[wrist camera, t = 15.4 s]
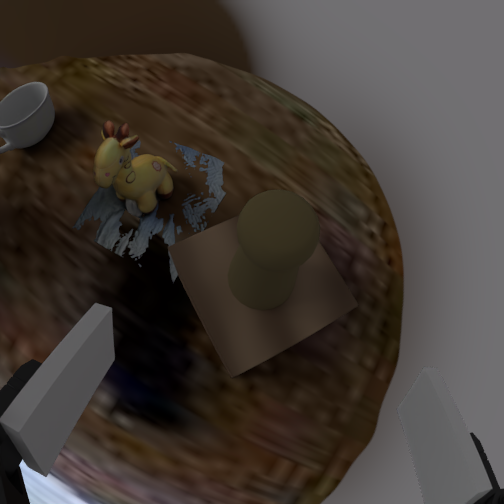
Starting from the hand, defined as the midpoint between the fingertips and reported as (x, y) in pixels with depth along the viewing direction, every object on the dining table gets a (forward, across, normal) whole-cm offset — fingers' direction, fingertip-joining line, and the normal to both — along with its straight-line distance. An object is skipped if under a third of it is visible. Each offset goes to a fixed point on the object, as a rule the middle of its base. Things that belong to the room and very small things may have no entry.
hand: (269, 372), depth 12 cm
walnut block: (+22, 0, -10) cm, 24 cm away
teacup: (+35, -43, +3) cm, 55 cm away
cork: (+16, 0, -4) cm, 17 cm away
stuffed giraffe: (+30, -15, -3) cm, 34 cm away
